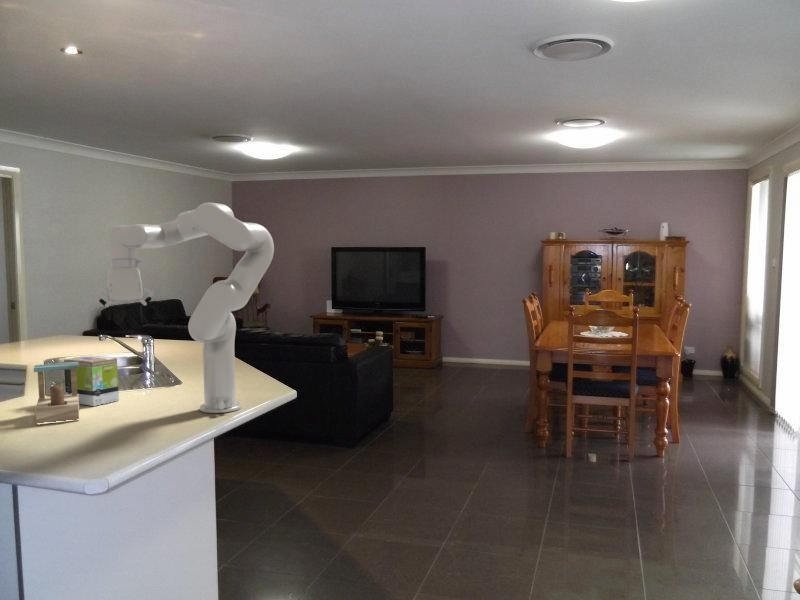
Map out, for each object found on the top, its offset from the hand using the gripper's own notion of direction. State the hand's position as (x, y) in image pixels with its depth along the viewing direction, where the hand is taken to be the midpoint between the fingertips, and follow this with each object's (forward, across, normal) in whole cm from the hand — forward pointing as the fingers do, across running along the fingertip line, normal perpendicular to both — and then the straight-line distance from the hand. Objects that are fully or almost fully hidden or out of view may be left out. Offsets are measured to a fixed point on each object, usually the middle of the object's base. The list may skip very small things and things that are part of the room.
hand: (126, 318), depth 211 cm
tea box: (+29, +11, -14) cm, 34 cm away
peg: (+28, +20, +8) cm, 36 cm away
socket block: (+28, +20, +4) cm, 35 cm away
